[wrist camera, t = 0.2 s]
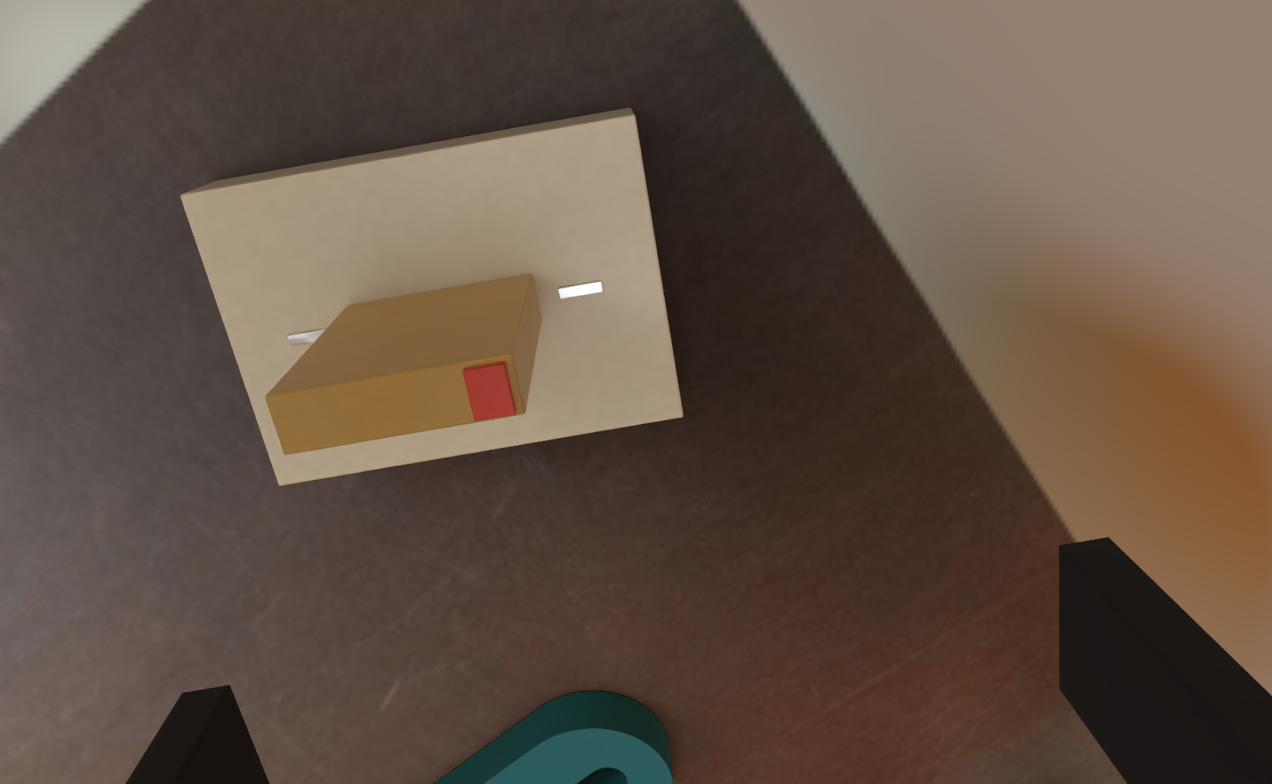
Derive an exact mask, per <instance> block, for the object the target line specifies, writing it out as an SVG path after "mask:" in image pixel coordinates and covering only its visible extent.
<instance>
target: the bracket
mask: <svg viewBox="0 0 1272 784" xmlns="http://www.w3.org/2000/svg"><path fill="white" fill-rule="evenodd" d="M600 768H601V769H600ZM598 769H600V770H598ZM595 770H598V771H597V772H595V773H594V774H592V775H591V776H589V777H588V778H587V779H585V780H584V781H582V782H581V783H579V784H673V774H672V765H671V756H670V747H669V741H668V737H667V734H666V732H665V730H664V728H663V726H662V724H661V723H660V721H659V720H658V719H657V718H656V716H655V715H654V714H653V713H652V712H650V711H649V710H648V709H647V708H646V707H644V706H643V705H641V704H640V703H638V702H636V701H634V700H632V699H630V698H627V697H625V696H622V695H618V694H614V693H609V692H600V691H586V692H577V693H572V694H568V695H565V696H561V697H559V698H556V699H554V700H552V701H550V702H548V703H546V704H545V705H543V706H542V707H540V708H539V709H537V710H536V711H534V712H533V713H532V714H530V715H529V716H527V717H526V718H525V719H523V720H522V721H521V722H519V723H518V724H516V725H515V726H514V727H512V728H511V729H510V730H508V731H507V732H505V733H504V734H503V735H501V736H500V737H498V738H497V739H496V740H494V741H493V742H492V743H490V744H489V745H487V746H486V747H485V748H483V749H482V750H480V751H479V752H478V753H476V754H475V755H474V756H472V757H471V758H469V759H468V760H467V761H465V762H464V763H462V764H461V765H460V766H458V767H457V768H456V769H454V770H453V771H451V772H450V773H449V774H447V775H446V776H445V777H443V778H442V779H440V780H439V781H438V782H436V783H435V784H577V783H578V782H579V781H581V780H582V779H584V778H585V777H587V776H588V775H590V774H591V773H592V772H594V771H595Z"/></svg>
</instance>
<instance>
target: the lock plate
mask: <svg viewBox="0 0 1272 784" xmlns="http://www.w3.org/2000/svg"><path fill="white" fill-rule="evenodd" d="M180 197H181V200H182V203H183V206H184V209H185V212H186V215H187V217H188V220H189V223H190V226H191V229H192V232H193V235H194V238H195V241H196V244H197V247H198V250H199V253H200V255H201V258H202V261H203V264H204V267H205V270H206V273H207V276H208V279H209V282H210V285H211V288H212V291H213V293H214V296H215V299H216V302H217V305H218V308H219V311H220V314H221V317H222V320H223V323H224V326H225V329H226V331H227V334H228V337H229V340H230V343H231V346H232V349H233V352H234V355H235V358H236V361H237V364H238V367H239V369H240V372H241V375H242V378H243V381H244V384H245V387H246V390H247V393H248V396H249V399H250V402H251V405H252V407H253V410H254V413H255V416H256V419H257V422H258V425H259V428H260V431H261V434H262V437H263V440H264V443H265V445H266V448H267V451H268V454H269V457H270V460H271V463H272V466H273V469H274V472H275V475H276V478H277V481H278V483H279V485H280V486H281V485H287V484H293V483H299V482H305V481H311V480H316V479H322V478H328V477H334V476H340V475H346V474H352V473H358V472H363V471H369V470H375V469H381V468H387V467H393V466H399V465H404V464H410V463H416V462H422V461H428V460H434V459H440V458H445V457H451V456H457V455H463V454H469V453H475V452H481V451H487V450H492V449H498V448H504V447H510V446H516V445H522V444H528V443H533V442H539V441H545V440H551V439H557V438H563V437H569V436H575V435H580V434H586V433H592V432H598V431H604V430H610V429H616V428H621V427H627V426H633V425H639V424H645V423H651V422H657V421H662V420H668V419H674V418H680V417H683V410H682V404H681V398H680V392H679V385H678V379H677V373H676V367H675V360H674V354H673V348H672V342H671V335H670V329H669V323H668V317H667V310H666V304H665V298H664V292H663V285H662V279H661V273H660V267H659V260H658V254H657V248H656V242H655V235H654V229H653V223H652V217H651V210H650V204H649V198H648V192H647V186H646V179H645V173H644V167H643V161H642V154H641V148H640V142H639V136H638V129H637V123H636V117H635V115H634V113H633V111H632V109H631V108H624V109H619V110H613V111H607V112H602V113H596V114H590V115H585V116H579V117H573V118H568V119H562V120H557V121H551V122H545V123H540V124H534V125H528V126H523V127H517V128H511V129H506V130H500V131H494V132H489V133H483V134H477V135H472V136H466V137H460V138H455V139H449V140H443V141H438V142H432V143H427V144H421V145H415V146H410V147H404V148H398V149H393V150H387V151H381V152H376V153H370V154H364V155H359V156H353V157H347V158H342V159H336V160H330V161H325V162H319V163H313V164H308V165H302V166H297V167H291V168H285V169H280V170H274V171H268V172H263V173H257V174H251V175H246V176H240V177H234V178H229V179H223V180H217V181H215V182H212V183H210V184H207V185H204V186H202V187H199V188H197V189H194V190H192V191H189V192H186V193H184V194H181V195H180ZM525 274H532V275H533V279H534V284H535V289H536V293H537V298H538V303H539V308H540V312H541V317H542V322H541V327H540V333H539V339H538V344H537V350H536V355H535V361H534V367H533V372H532V378H531V384H530V389H529V395H528V400H527V406H526V412H525V414H523V415H518V416H512V417H506V418H500V419H494V420H488V421H483V422H477V423H471V424H465V425H459V426H453V427H447V428H442V429H436V430H430V431H424V432H418V433H412V434H407V435H401V436H395V437H389V438H383V439H377V440H371V441H366V442H360V443H354V444H348V445H342V446H336V447H331V448H325V449H319V450H313V451H307V452H301V453H296V454H290V455H284V453H283V450H282V447H281V444H280V441H279V438H278V435H277V432H276V429H275V426H274V423H273V420H272V417H271V414H270V411H269V408H268V405H267V402H266V399H265V396H266V395H267V393H268V392H269V391H270V390H271V389H272V388H273V387H274V386H275V385H276V384H277V382H278V381H279V380H280V379H281V378H282V377H283V376H284V375H285V374H286V372H287V371H288V370H289V369H290V368H291V367H292V366H293V365H294V364H295V363H296V361H297V360H298V359H299V358H300V357H301V356H302V355H303V354H304V353H305V352H306V350H307V349H308V348H309V347H310V346H311V345H312V344H313V343H314V342H315V341H316V339H317V338H318V337H319V336H320V335H321V334H322V333H323V332H324V331H325V330H326V328H327V327H328V326H329V325H330V324H331V323H332V322H333V321H334V320H335V319H336V317H337V316H338V315H339V314H340V313H341V312H342V311H343V310H344V309H345V308H346V306H348V305H353V304H359V303H364V302H370V301H376V300H382V299H387V298H393V297H399V296H405V295H410V294H416V293H422V292H428V291H433V290H439V289H445V288H451V287H456V286H462V285H468V284H474V283H479V282H485V281H491V280H497V279H502V278H508V277H514V276H520V275H525Z"/></svg>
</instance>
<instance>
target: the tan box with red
mask: <svg viewBox="0 0 1272 784" xmlns="http://www.w3.org/2000/svg"><path fill="white" fill-rule="evenodd" d="M541 322H542V317H541V312H540V308H539V303H538V298H537V293H536V289H535V284H534V279H533V275H532V274H525V275H520V276H514V277H508V278H502V279H497V280H491V281H485V282H479V283H474V284H468V285H462V286H456V287H451V288H445V289H439V290H433V291H428V292H422V293H416V294H410V295H405V296H399V297H393V298H387V299H382V300H376V301H370V302H364V303H359V304H353V305H348V306H346V308H345V309H344V310H343V311H342V312H341V313H340V314H339V315H338V316H337V317H336V319H335V320H334V321H333V322H332V323H331V324H330V325H329V326H328V327H327V328H326V330H325V331H324V332H323V333H322V334H321V335H320V336H319V337H318V338H317V339H316V341H315V342H314V343H313V344H312V345H311V346H310V347H309V348H308V349H307V350H306V352H305V353H304V354H303V355H302V356H301V357H300V358H299V359H298V360H297V361H296V363H295V364H294V365H293V366H292V367H291V368H290V369H289V370H288V371H287V372H286V374H285V375H284V376H283V377H282V378H281V379H280V380H279V381H278V382H277V384H276V385H275V386H274V387H273V388H272V389H271V390H270V391H269V392H268V393H267V395H266V396H265V399H266V402H267V405H268V408H269V411H270V414H271V417H272V420H273V423H274V426H275V429H276V432H277V435H278V438H279V441H280V444H281V447H282V450H283V453H284V455H290V454H296V453H301V452H307V451H313V450H319V449H325V448H331V447H336V446H342V445H348V444H354V443H360V442H366V441H371V440H377V439H383V438H389V437H395V436H401V435H407V434H412V433H418V432H424V431H430V430H436V429H442V428H447V427H453V426H459V425H465V424H471V423H477V422H483V421H488V420H494V419H500V418H506V417H512V416H518V415H523V414H525V412H526V406H527V400H528V395H529V389H530V384H531V378H532V372H533V367H534V361H535V355H536V350H537V344H538V339H539V333H540V327H541Z"/></svg>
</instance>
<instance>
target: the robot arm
mask: <svg viewBox="0 0 1272 784" xmlns="http://www.w3.org/2000/svg"><path fill="white" fill-rule="evenodd" d="M1059 673H1060V690H1061V692H1062V693H1063V694H1064V696H1065V697H1066V699H1067V700H1068V701H1069V703H1070V704H1071V706H1072V707H1073V708H1074V710H1075V711H1076V713H1077V714H1078V715H1079V717H1080V718H1081V720H1082V721H1083V722H1084V724H1085V725H1086V727H1087V728H1088V729H1089V731H1090V732H1091V734H1092V735H1093V736H1094V738H1095V739H1096V741H1097V742H1098V743H1099V745H1100V746H1101V748H1102V749H1103V750H1104V752H1105V753H1106V755H1107V756H1108V757H1109V759H1110V760H1111V762H1112V763H1113V764H1114V766H1115V767H1116V769H1117V770H1118V771H1119V773H1120V774H1121V776H1122V777H1123V778H1124V780H1125V781H1126V782H1127V784H1272V696H1271V695H1270V694H1269V693H1268V692H1267V691H1266V690H1265V689H1264V688H1263V687H1262V686H1261V685H1260V684H1259V683H1258V682H1257V681H1256V680H1255V679H1254V678H1253V677H1252V676H1250V674H1249V673H1248V672H1247V671H1245V669H1243V668H1242V667H1241V666H1240V665H1239V664H1238V663H1237V662H1236V661H1235V660H1234V659H1233V658H1232V657H1231V656H1230V655H1229V654H1228V653H1227V652H1226V651H1225V650H1224V649H1223V648H1222V647H1221V646H1220V645H1219V644H1218V643H1217V642H1216V641H1215V640H1213V638H1211V636H1209V634H1207V633H1206V632H1205V631H1204V630H1203V629H1202V628H1201V627H1200V626H1199V625H1198V624H1197V623H1196V622H1195V621H1194V620H1193V619H1192V618H1191V617H1190V616H1189V615H1188V614H1187V613H1186V612H1185V611H1184V610H1183V609H1182V608H1181V607H1180V606H1179V605H1178V604H1177V603H1175V601H1173V599H1171V598H1170V597H1169V596H1168V595H1167V594H1166V593H1165V592H1164V591H1163V590H1162V589H1161V588H1160V587H1159V586H1158V585H1157V584H1156V583H1155V582H1154V581H1153V580H1152V579H1151V578H1150V577H1149V576H1148V575H1147V574H1146V573H1145V572H1144V571H1143V570H1141V568H1140V567H1139V566H1137V564H1135V563H1134V562H1133V561H1132V560H1131V559H1130V558H1129V557H1128V556H1127V555H1126V554H1125V553H1124V552H1123V551H1122V550H1121V549H1120V548H1119V547H1118V546H1117V545H1116V544H1115V543H1114V542H1113V541H1112V540H1111V539H1110V538H1109V537H1107V538H1101V539H1095V540H1089V541H1084V542H1077V543H1071V544H1065V545H1059ZM126 784H269V782H268V779H267V777H266V774H265V772H264V769H263V767H262V764H261V762H260V759H259V757H258V754H257V752H256V749H255V747H254V744H253V742H252V739H251V737H250V734H249V732H248V729H247V727H246V724H245V722H244V719H243V717H242V714H241V712H240V709H239V707H238V704H237V702H236V699H235V697H234V694H233V692H232V689H231V687H230V685H227V686H221V687H215V688H209V689H203V690H197V691H191V692H185V693H182V694H181V696H180V697H179V699H178V701H177V702H176V704H175V705H174V707H173V709H172V710H171V712H170V713H169V715H168V717H167V718H166V720H165V721H164V723H163V725H162V726H161V728H160V729H159V731H158V733H157V734H156V736H155V737H154V739H153V741H152V742H151V744H150V745H149V747H148V749H147V750H146V752H145V753H144V755H143V757H142V758H141V760H140V762H139V763H138V765H137V766H136V768H135V770H134V771H133V773H132V774H131V776H130V778H129V779H128V781H127V782H126Z"/></svg>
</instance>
